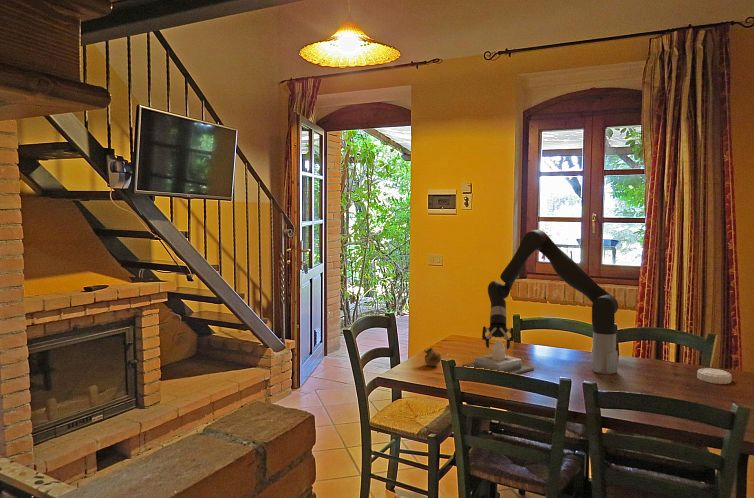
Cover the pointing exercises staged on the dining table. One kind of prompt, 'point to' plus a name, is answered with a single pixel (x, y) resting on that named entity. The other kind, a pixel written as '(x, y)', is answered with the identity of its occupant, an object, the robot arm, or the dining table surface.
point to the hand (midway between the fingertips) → (497, 347)
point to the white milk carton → (498, 351)
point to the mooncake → (714, 375)
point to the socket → (500, 364)
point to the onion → (432, 357)
